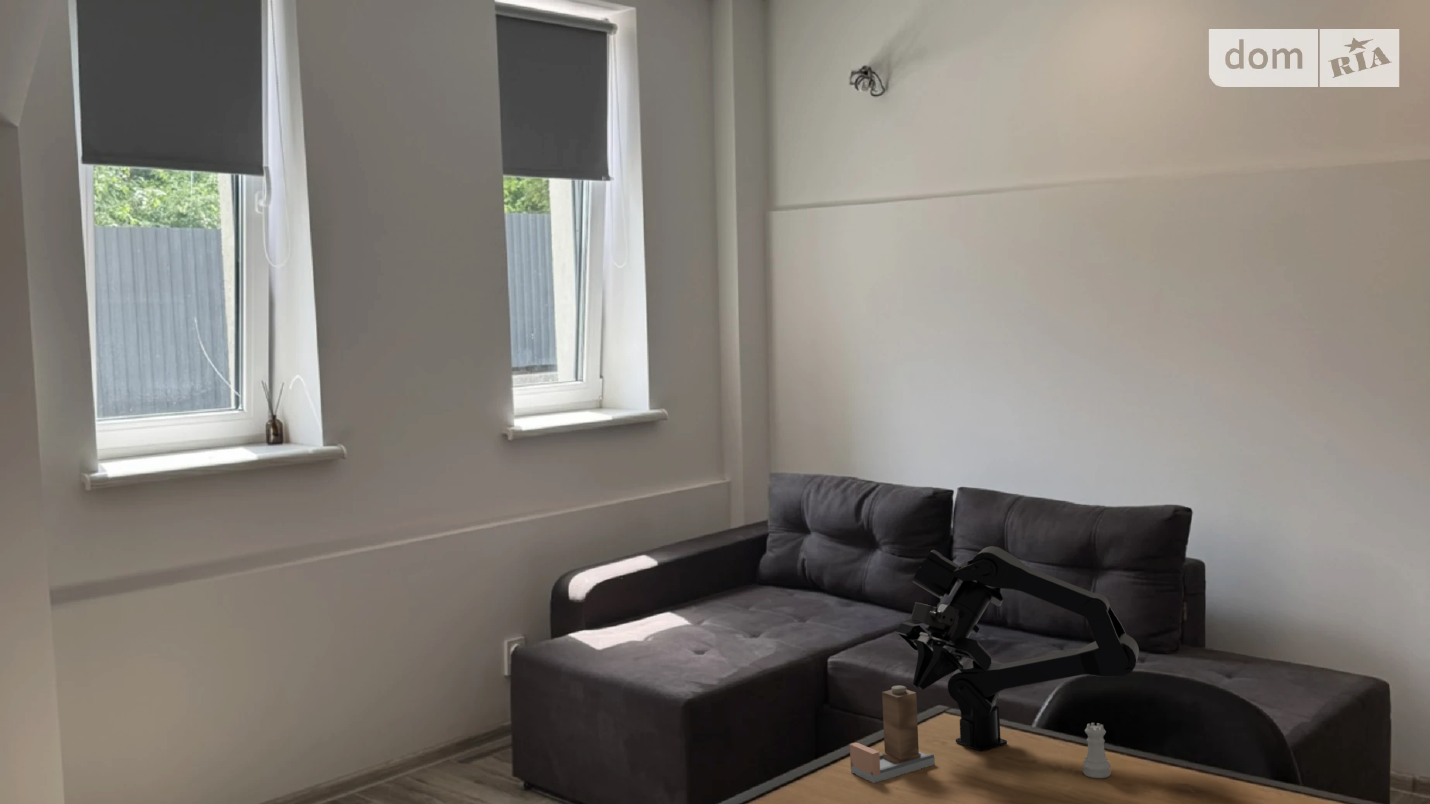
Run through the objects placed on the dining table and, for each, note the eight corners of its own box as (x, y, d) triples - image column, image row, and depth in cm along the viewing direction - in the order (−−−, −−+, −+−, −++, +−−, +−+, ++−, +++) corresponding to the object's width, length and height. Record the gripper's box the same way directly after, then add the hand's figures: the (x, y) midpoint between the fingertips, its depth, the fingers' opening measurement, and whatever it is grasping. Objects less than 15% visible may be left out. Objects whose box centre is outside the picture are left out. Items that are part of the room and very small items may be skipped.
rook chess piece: (1113, 779, 188) (1111, 730, 188) (1083, 779, 189) (1082, 729, 189) (1109, 769, 193) (1107, 721, 192) (1081, 768, 194) (1079, 720, 193)
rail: (911, 754, 204) (909, 727, 204) (934, 764, 199) (933, 736, 199) (851, 772, 197) (849, 744, 197) (873, 783, 192) (872, 753, 192)
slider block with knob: (905, 751, 202) (902, 682, 201) (920, 758, 199) (917, 687, 198) (883, 758, 200) (879, 687, 199) (898, 764, 196) (895, 693, 195)
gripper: (901, 576, 210) (855, 649, 205) (976, 592, 194) (927, 672, 189) (937, 613, 215) (892, 685, 210) (1012, 632, 199) (966, 710, 194)
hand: (917, 687), depth 201 cm, fingers closed
